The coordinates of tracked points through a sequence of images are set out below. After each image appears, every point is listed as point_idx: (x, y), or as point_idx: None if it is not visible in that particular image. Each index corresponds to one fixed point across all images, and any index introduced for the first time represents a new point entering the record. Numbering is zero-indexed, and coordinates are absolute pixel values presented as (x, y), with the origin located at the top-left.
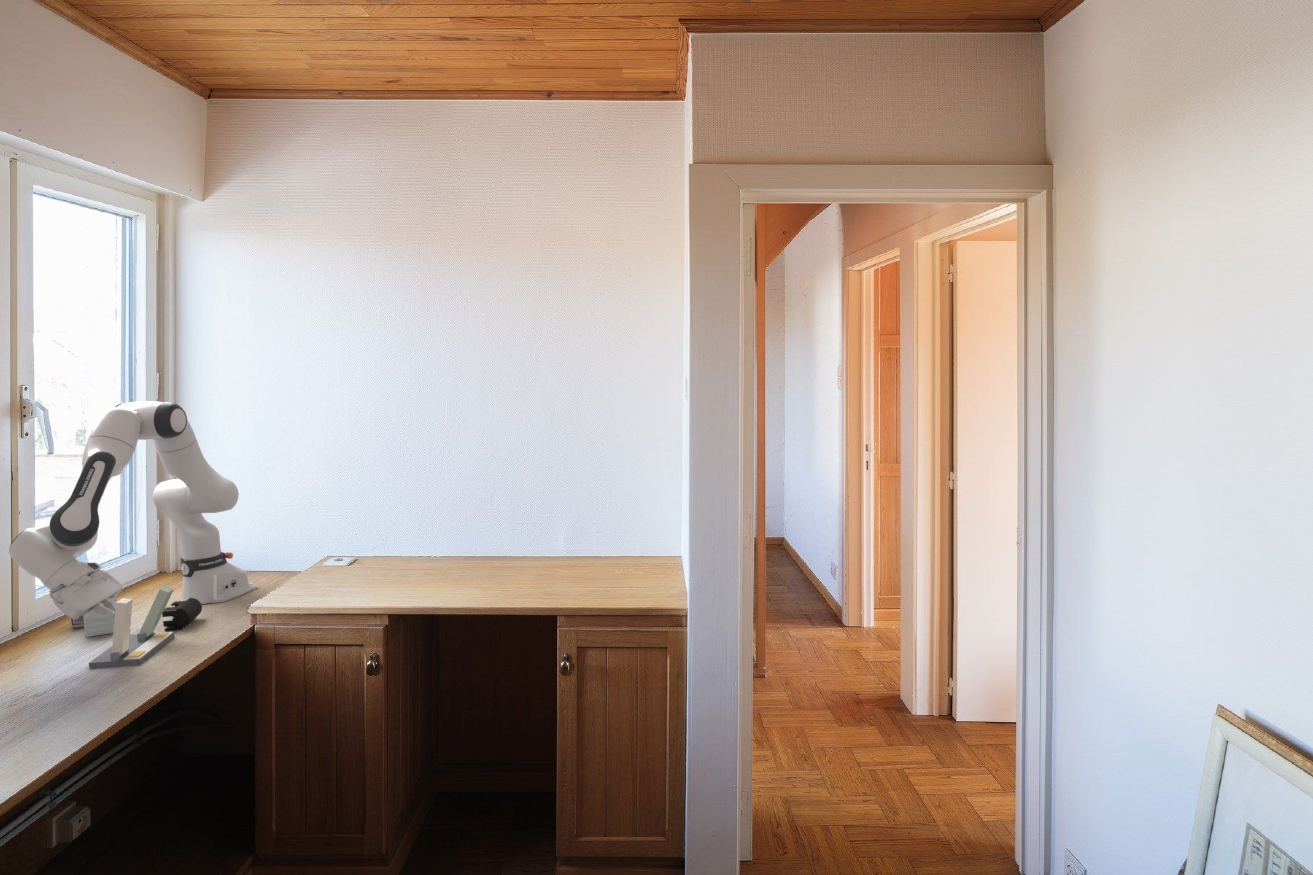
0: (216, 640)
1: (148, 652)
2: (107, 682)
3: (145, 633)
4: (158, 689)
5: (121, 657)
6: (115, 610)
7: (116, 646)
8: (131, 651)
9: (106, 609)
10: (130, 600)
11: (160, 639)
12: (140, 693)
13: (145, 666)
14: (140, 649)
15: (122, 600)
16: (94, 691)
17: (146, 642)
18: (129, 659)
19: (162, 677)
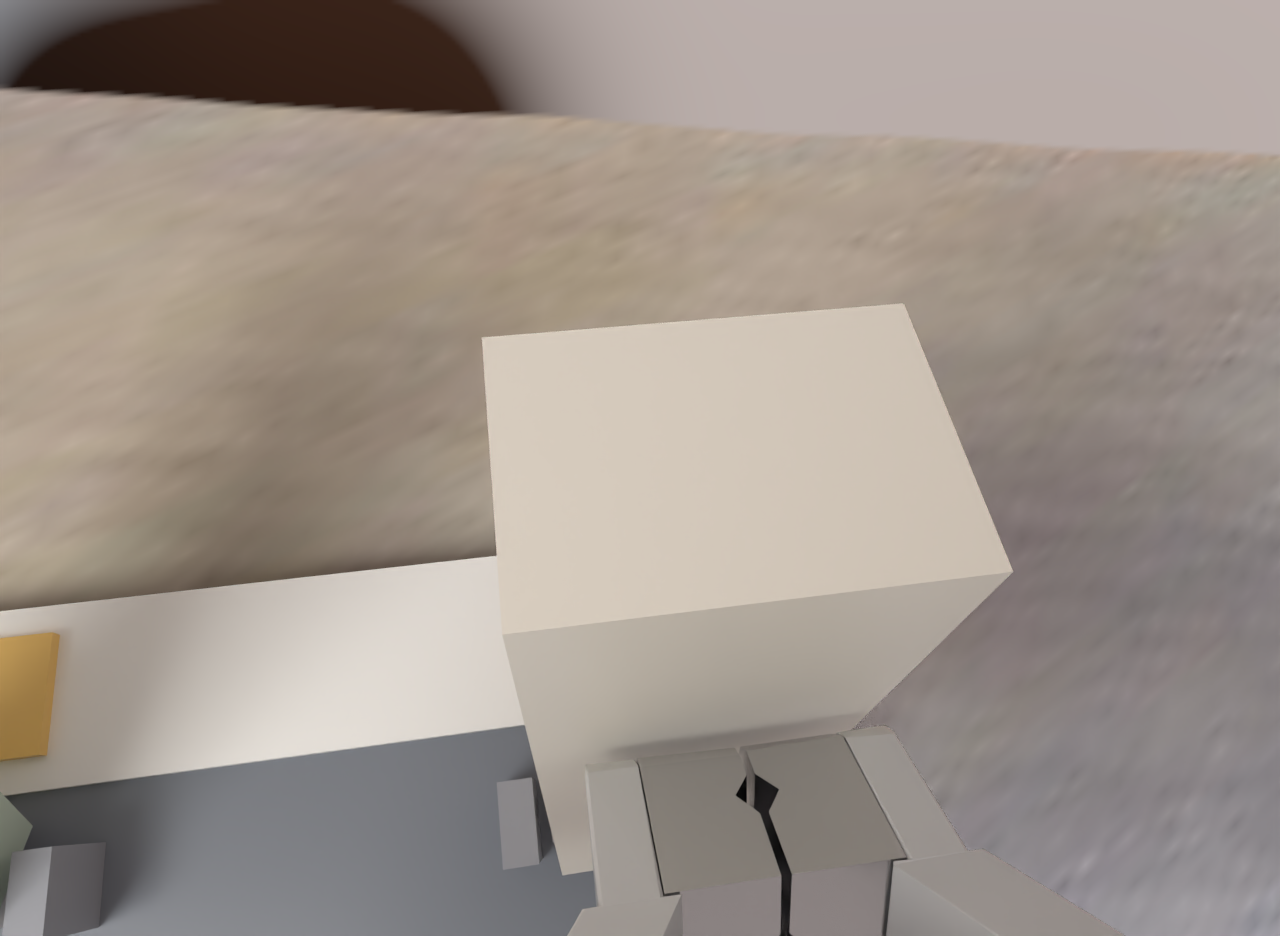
0: (161, 194)
1: None
2: (1098, 605)
3: (2, 852)
4: (1141, 166)
5: None
6: (906, 666)
7: None
8: (480, 768)
9: (1043, 900)
10: (609, 335)
11: (137, 632)
12: (1220, 241)
13: None
14: (453, 678)
15: (721, 513)
16: (1272, 597)
17: (213, 748)
18: None
19: (954, 236)
